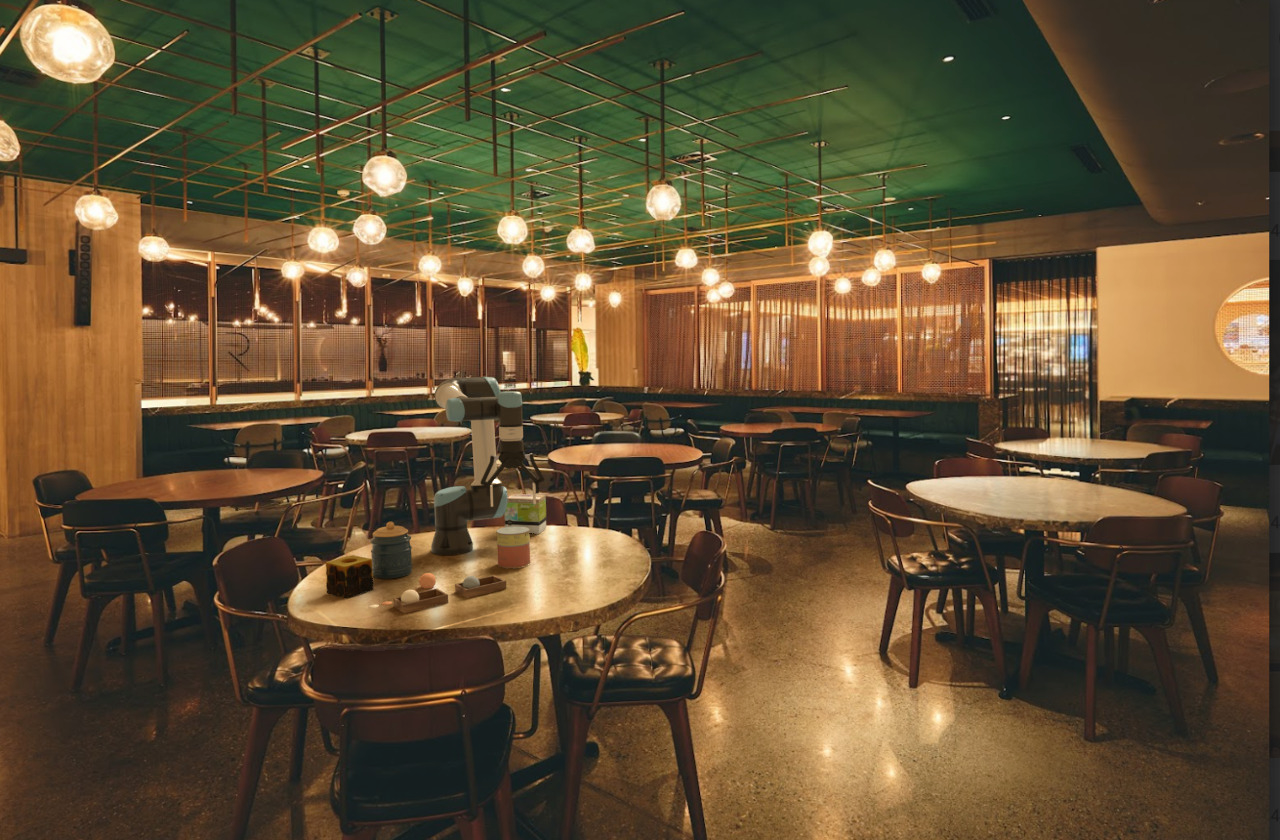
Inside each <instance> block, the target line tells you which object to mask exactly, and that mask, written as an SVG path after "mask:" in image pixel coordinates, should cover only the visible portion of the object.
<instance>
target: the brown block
mask: <svg viewBox="0 0 1280 840" xmlns="http://www.w3.org/2000/svg"><path fill="white" fill-rule="evenodd" d="M325 567H326V568H325V571H326V572H325V575H326V583H325V584H326V585H325V586H326V594H328V595H331V596H334V597H341V598H343V599H345V600H346V599H351V598H353V597H357V596H359V595H363V594H365V593H367V592H371V591H374V583H375V582H374V576H373V570H372V558H369V557H364V556H358V555H354V554H353V555H348V556H345V557H340V558H338V559H334V560H330V561H326V562H325Z"/></svg>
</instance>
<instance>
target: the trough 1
mask: <svg viewBox="0 0 1280 840" xmlns="http://www.w3.org/2000/svg"><path fill="white" fill-rule="evenodd" d="M417 593H418V594H419V601H416V602H412V603H407V604H404V603H403V602H401V596H398V597H393V600H392V603H393V608H395V609H397V610H398V611H399V612H401V613H402V614H408V613H412V612H416V611H421V610H425V609H428V608H433V607H437V606H440V605H441V606H442V605H445V604H449V594H448V593H447V592H444V591H442V590H441V589H439V588H433V589H432V588H431V589H426V590H423V591H420V592H417Z"/></svg>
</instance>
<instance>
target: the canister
mask: <svg viewBox="0 0 1280 840" xmlns="http://www.w3.org/2000/svg"><path fill="white" fill-rule="evenodd" d="M385 525H386V526H382V527H379V528H377V529H376V530H375V531H374V532H373V533H372V536H373V538H371V539H370V541H369V542H370V544H371V549H370V554H371V559H372V570H373V578H376V579H381V580H382V579H383V580H389V579H398V578H402V577H405V576H406V577H407V576H409V575H410V574H411V573H412V572H413V560H412V559H413V558H412V548H413V547H412V545H411V539H412V536H411V535H410V534H408V533H409V529H407V528H405V527H404V526H401V525H395V523H394V522H393V521H388V522H387V523H386V524H385Z"/></svg>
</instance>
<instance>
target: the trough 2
mask: <svg viewBox="0 0 1280 840" xmlns="http://www.w3.org/2000/svg"><path fill="white" fill-rule="evenodd" d="M478 580H479V583H480V585H479V587H475V588H471V589H466V588H464V587H463V582H459V583H455V584H454V586H455V587H454V592H455V593H456V594H458V595H460V596H462V597H464V598H465V599H469V598H474V597H477V596H478V597H479V596H481V595H485V594H489V593H494V592H498V591H501V590H506V589H507V580H506V579H503V578H501V577H500V576H496V575H494V574H493V575H488V576H485V577H481V578H480V577H479V578H478Z"/></svg>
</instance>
